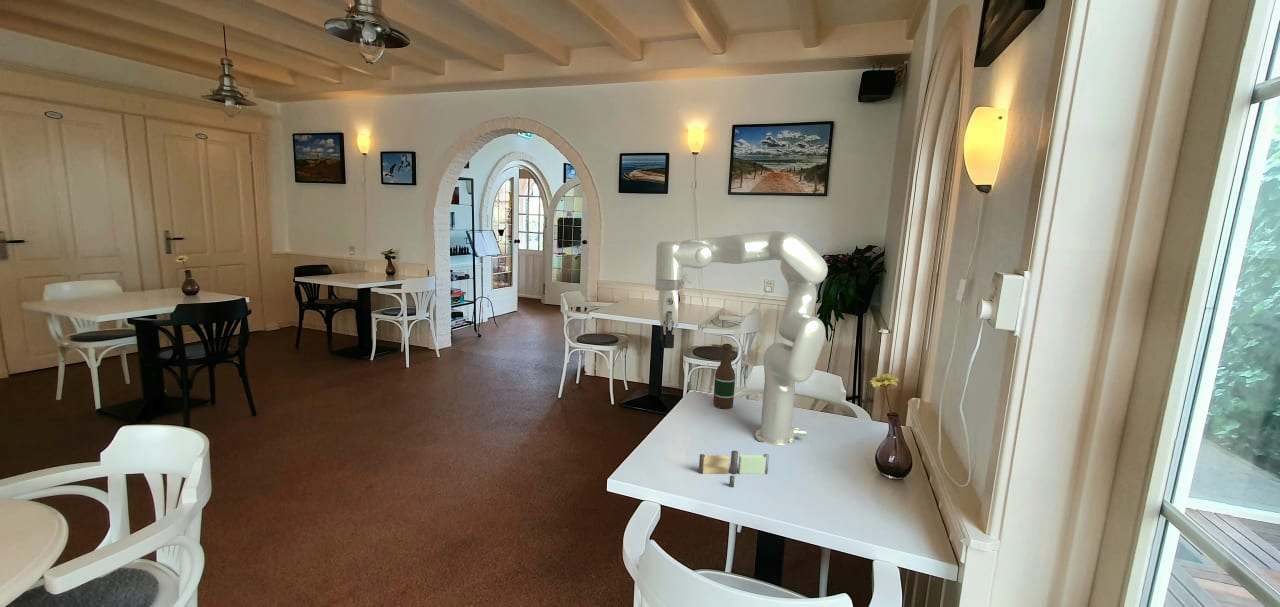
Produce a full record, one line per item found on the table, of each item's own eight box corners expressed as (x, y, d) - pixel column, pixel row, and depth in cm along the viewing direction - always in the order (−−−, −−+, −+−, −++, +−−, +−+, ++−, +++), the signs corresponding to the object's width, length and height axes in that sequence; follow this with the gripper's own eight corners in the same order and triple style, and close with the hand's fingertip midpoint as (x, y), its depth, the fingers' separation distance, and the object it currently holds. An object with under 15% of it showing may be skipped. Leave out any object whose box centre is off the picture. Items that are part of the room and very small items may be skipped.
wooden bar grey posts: (735, 472, 140) (737, 450, 139) (744, 488, 132) (746, 465, 131) (698, 472, 140) (699, 450, 139) (704, 488, 131) (705, 465, 130)
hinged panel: (739, 474, 139) (741, 456, 138) (738, 471, 140) (739, 453, 139) (768, 474, 139) (769, 456, 139) (766, 471, 141) (768, 453, 140)
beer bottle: (735, 404, 195) (740, 343, 192) (730, 410, 188) (735, 348, 185) (715, 400, 199) (720, 341, 195) (710, 407, 192) (714, 345, 188)
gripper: (685, 289, 136) (682, 351, 139) (678, 281, 153) (676, 337, 156) (657, 289, 136) (655, 351, 139) (653, 281, 153) (651, 336, 156)
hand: (666, 343), depth 147 cm, fingers open, 9 cm apart
